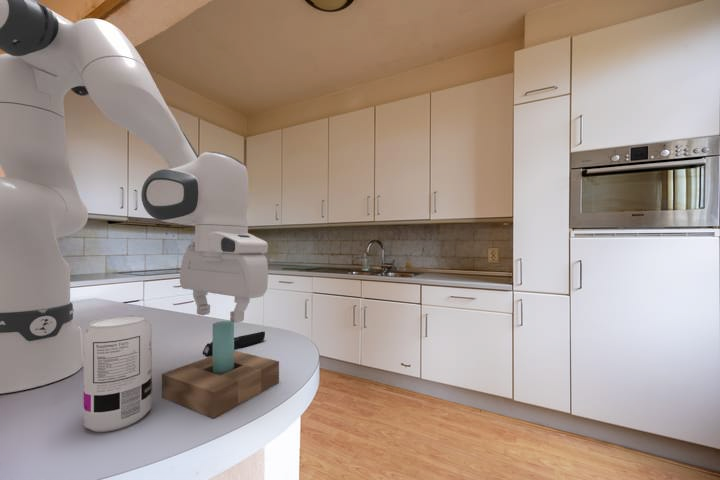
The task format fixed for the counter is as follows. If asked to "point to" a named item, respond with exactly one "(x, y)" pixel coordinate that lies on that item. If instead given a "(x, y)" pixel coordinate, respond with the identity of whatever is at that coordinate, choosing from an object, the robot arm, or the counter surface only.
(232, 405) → the socket block
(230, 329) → the peg
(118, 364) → the supplement can
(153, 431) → the counter surface
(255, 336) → the electric trimmer
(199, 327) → the counter surface
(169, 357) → the counter surface
